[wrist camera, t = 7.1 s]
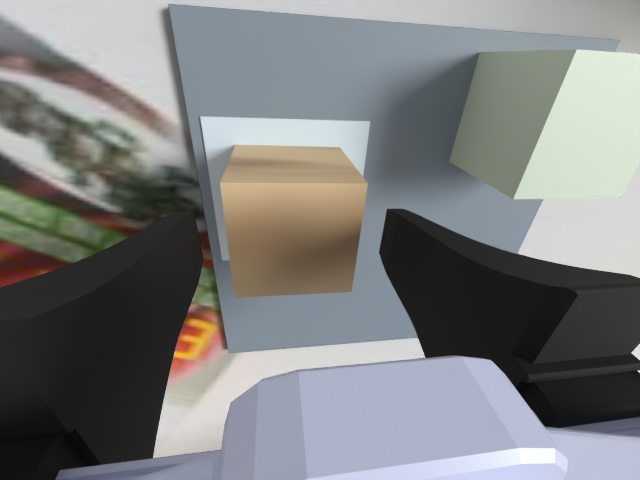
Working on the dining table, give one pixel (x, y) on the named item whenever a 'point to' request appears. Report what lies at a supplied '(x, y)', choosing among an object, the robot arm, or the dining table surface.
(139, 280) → the robot arm
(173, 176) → the dining table surface
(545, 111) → the sage block
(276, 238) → the oak block
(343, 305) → the slate board
